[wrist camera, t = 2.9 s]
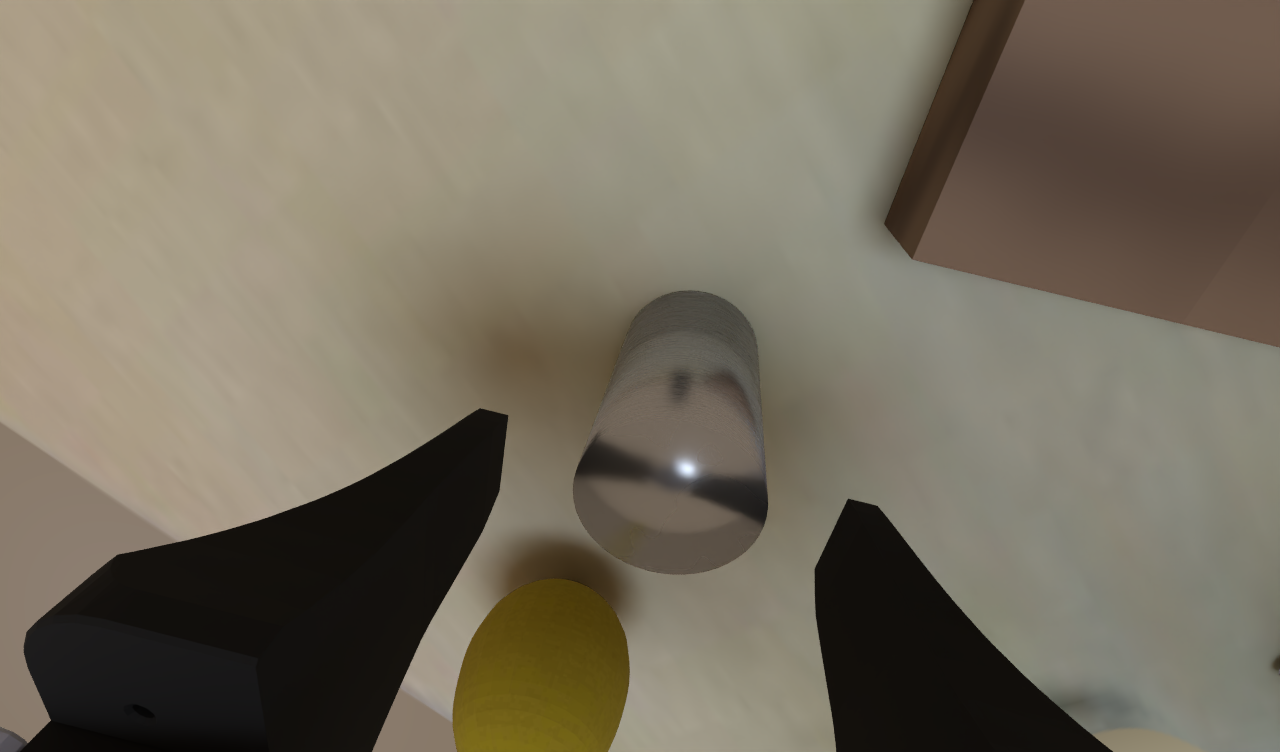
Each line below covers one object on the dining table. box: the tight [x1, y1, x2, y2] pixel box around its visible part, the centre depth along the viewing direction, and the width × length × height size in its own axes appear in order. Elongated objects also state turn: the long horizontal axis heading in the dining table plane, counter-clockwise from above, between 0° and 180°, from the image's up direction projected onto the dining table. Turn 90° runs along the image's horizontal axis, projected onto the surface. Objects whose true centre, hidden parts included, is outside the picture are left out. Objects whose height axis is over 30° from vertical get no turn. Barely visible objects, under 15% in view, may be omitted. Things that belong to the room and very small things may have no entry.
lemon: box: [453, 578, 630, 752], centre depth 21 cm, size 6×6×8 cm
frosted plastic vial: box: [573, 291, 768, 574], centre depth 16 cm, size 4×4×7 cm
